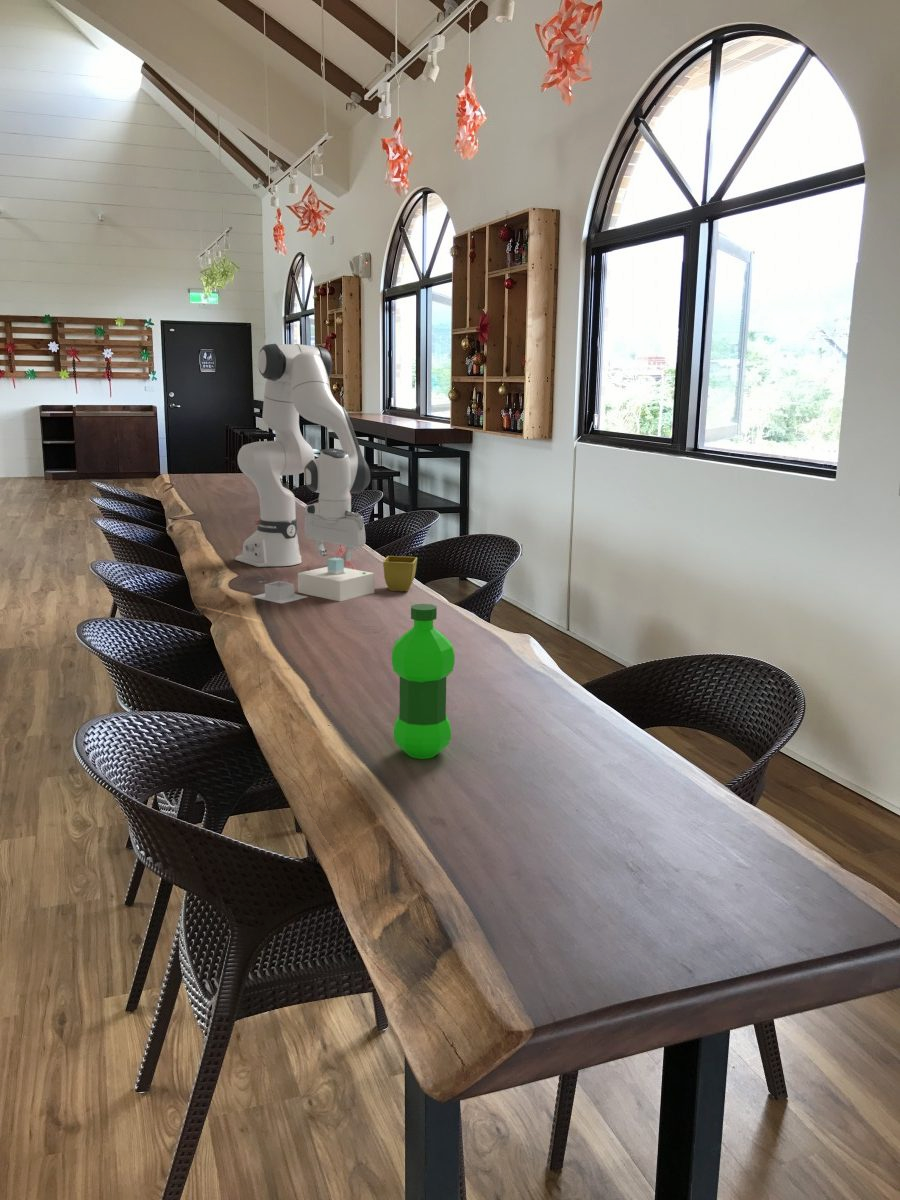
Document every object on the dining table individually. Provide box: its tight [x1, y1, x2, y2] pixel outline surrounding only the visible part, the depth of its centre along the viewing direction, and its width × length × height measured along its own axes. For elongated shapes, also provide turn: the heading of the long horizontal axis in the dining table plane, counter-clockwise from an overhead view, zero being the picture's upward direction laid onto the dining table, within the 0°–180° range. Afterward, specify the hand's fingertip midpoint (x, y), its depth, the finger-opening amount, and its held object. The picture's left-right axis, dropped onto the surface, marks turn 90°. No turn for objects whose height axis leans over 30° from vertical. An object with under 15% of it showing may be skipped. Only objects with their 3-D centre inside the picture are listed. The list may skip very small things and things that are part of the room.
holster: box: [250, 581, 308, 604], centre depth 261 cm, size 12×10×4 cm
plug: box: [326, 557, 345, 575], centre depth 267 cm, size 3×3×9 cm
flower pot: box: [382, 555, 418, 592], centre depth 274 cm, size 9×9×9 cm
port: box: [297, 566, 375, 602], centre depth 267 cm, size 16×14×6 cm
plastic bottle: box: [391, 603, 456, 760], centre depth 156 cm, size 10×10×25 cm
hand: (334, 558), depth 266 cm, fingers open, 8 cm apart
